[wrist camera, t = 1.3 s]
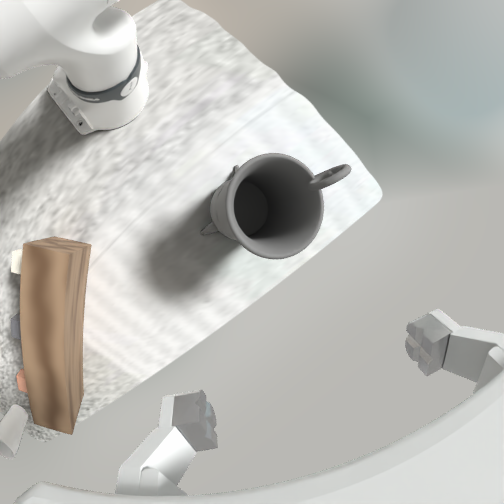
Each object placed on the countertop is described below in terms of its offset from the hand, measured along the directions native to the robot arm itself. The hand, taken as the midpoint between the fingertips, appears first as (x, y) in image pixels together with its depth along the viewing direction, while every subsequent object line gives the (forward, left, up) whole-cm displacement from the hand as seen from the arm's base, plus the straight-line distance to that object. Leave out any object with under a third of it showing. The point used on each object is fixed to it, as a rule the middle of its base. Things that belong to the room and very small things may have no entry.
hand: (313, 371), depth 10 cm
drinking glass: (-14, -59, -45) cm, 75 cm away
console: (-12, -27, -45) cm, 54 cm away
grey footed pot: (+4, +12, -45) cm, 47 cm away
